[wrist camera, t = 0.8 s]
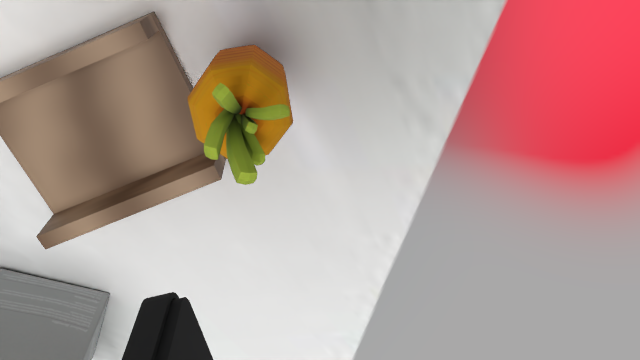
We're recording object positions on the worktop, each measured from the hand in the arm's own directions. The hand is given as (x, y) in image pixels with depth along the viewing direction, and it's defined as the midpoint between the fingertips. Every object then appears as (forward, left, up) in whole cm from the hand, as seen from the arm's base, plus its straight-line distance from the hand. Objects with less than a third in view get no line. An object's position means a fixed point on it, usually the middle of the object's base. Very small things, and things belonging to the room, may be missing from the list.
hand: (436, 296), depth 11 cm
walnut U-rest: (+15, -1, -27) cm, 31 cm away
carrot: (+5, -1, -27) cm, 27 cm away
